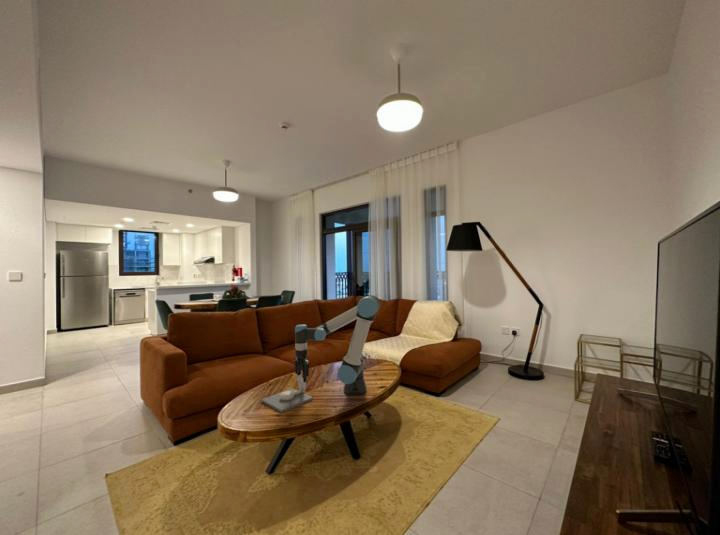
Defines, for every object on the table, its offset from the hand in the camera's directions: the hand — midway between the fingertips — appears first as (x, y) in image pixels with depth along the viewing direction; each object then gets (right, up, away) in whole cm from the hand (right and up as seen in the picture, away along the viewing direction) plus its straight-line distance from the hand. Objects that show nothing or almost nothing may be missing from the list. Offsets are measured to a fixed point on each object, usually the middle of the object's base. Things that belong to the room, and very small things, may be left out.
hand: (302, 385), depth 182 cm
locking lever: (-4, -4, -5) cm, 8 cm away
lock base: (-7, -6, -8) cm, 12 cm away
